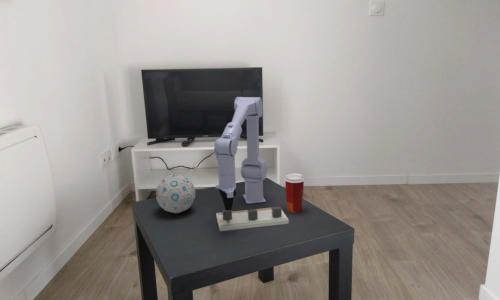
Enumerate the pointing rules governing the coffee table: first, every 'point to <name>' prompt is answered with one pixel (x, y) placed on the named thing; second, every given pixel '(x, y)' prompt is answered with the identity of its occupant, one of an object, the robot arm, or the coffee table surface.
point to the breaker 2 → (252, 214)
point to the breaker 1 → (227, 214)
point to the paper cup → (294, 192)
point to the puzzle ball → (175, 193)
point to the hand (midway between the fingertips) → (228, 209)
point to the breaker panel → (243, 222)
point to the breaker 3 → (276, 211)
